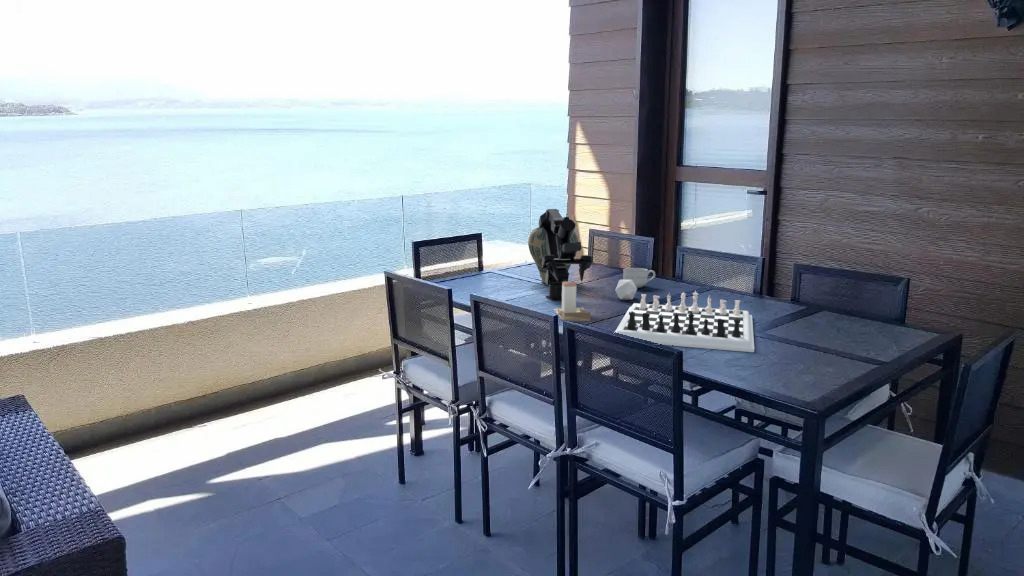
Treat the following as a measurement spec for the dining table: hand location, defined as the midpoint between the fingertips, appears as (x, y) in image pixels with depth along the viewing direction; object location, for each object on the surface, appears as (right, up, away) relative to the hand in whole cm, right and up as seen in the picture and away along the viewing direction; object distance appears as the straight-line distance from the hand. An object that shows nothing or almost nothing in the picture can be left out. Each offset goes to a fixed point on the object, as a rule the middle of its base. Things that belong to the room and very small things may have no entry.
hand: (570, 280), depth 282 cm
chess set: (+39, -18, -18) cm, 46 cm away
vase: (-3, 0, +59) cm, 59 cm away
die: (+25, -7, +27) cm, 38 cm away
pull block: (0, -12, +4) cm, 12 cm away
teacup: (+34, -3, +50) cm, 61 cm away
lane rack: (+1, -13, -1) cm, 13 cm away
